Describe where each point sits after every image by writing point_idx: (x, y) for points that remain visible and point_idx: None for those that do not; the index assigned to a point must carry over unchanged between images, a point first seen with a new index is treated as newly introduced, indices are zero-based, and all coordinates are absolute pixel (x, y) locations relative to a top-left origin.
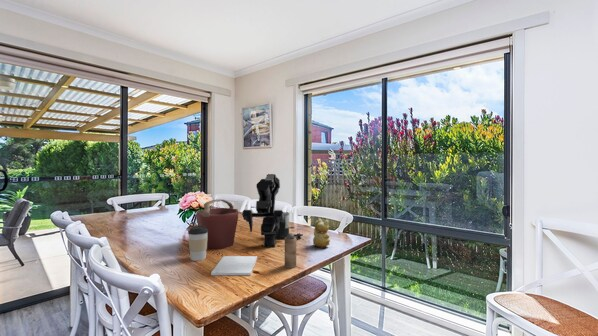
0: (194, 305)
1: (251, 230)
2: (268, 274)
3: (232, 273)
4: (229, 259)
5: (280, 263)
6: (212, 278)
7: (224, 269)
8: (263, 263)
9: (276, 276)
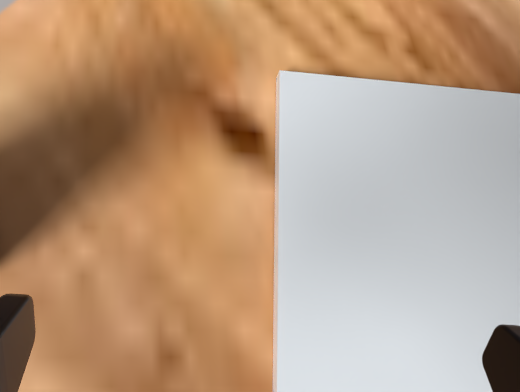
0: None
1: (510, 347)
2: (144, 82)
3: (403, 85)
4: None
5: None
6: (502, 57)
7: (476, 147)
8: (198, 322)
9: (81, 42)
